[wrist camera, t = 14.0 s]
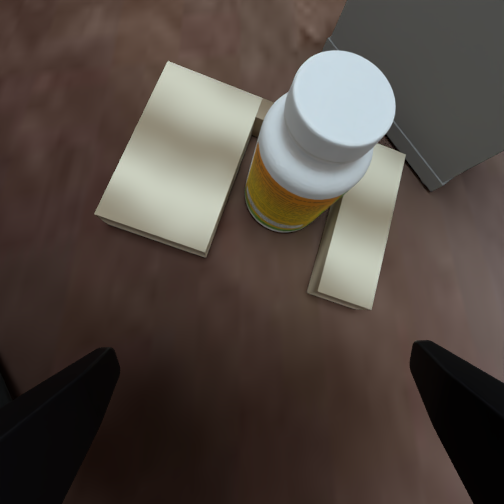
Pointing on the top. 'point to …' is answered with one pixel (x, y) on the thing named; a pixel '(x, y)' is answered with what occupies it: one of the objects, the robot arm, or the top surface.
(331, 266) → the notched board
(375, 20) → the cassette tape recorder
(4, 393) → the electric trimmer
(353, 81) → the supplement bottle
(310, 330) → the top surface
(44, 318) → the top surface
